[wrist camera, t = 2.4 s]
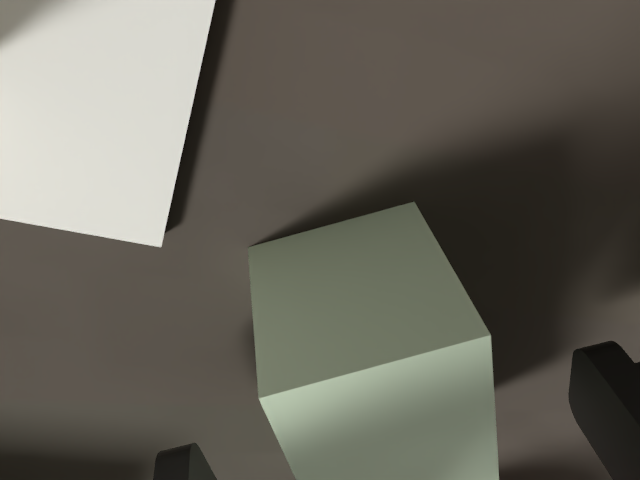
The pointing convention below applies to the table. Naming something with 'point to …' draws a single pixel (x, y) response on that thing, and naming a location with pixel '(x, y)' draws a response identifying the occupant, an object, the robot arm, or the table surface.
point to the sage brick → (372, 354)
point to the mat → (96, 111)
